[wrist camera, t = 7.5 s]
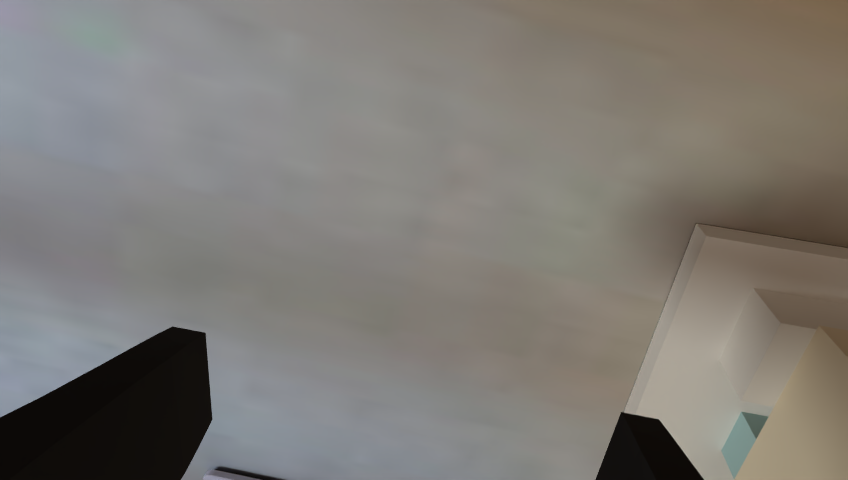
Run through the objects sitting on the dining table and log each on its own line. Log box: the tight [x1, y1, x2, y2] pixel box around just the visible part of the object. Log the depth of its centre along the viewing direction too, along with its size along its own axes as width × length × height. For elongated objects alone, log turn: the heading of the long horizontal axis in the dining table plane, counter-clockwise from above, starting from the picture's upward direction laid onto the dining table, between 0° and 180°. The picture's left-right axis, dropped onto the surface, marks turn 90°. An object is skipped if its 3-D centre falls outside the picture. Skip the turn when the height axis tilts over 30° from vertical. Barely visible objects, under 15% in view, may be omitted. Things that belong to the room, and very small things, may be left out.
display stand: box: [624, 223, 848, 480], centre depth 19 cm, size 15×10×3 cm, turn 173°
